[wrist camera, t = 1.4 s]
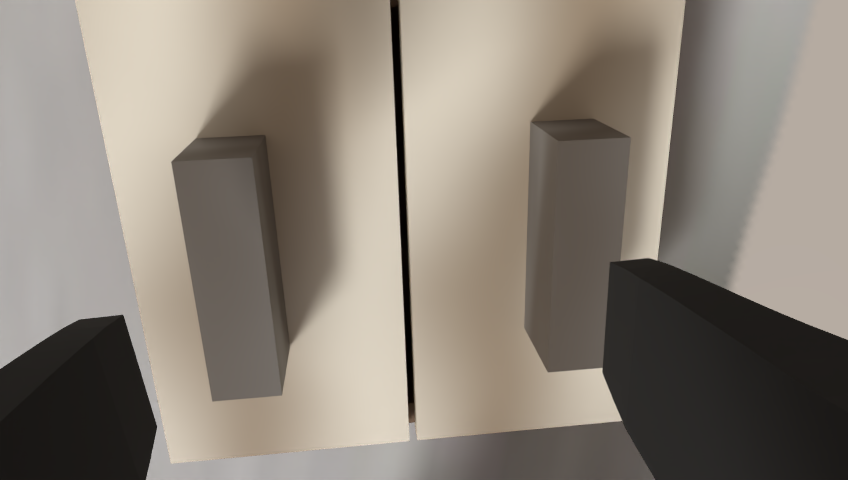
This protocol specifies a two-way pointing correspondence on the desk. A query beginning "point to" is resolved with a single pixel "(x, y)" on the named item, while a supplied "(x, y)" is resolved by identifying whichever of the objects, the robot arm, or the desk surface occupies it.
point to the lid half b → (527, 197)
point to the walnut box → (402, 202)
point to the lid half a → (258, 216)
